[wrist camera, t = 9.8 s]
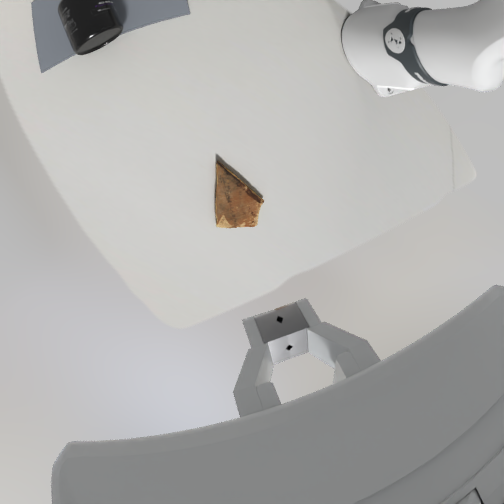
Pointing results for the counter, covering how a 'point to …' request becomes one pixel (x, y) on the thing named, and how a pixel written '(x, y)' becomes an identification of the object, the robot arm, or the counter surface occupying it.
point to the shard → (235, 201)
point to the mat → (128, 7)
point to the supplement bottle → (89, 23)
